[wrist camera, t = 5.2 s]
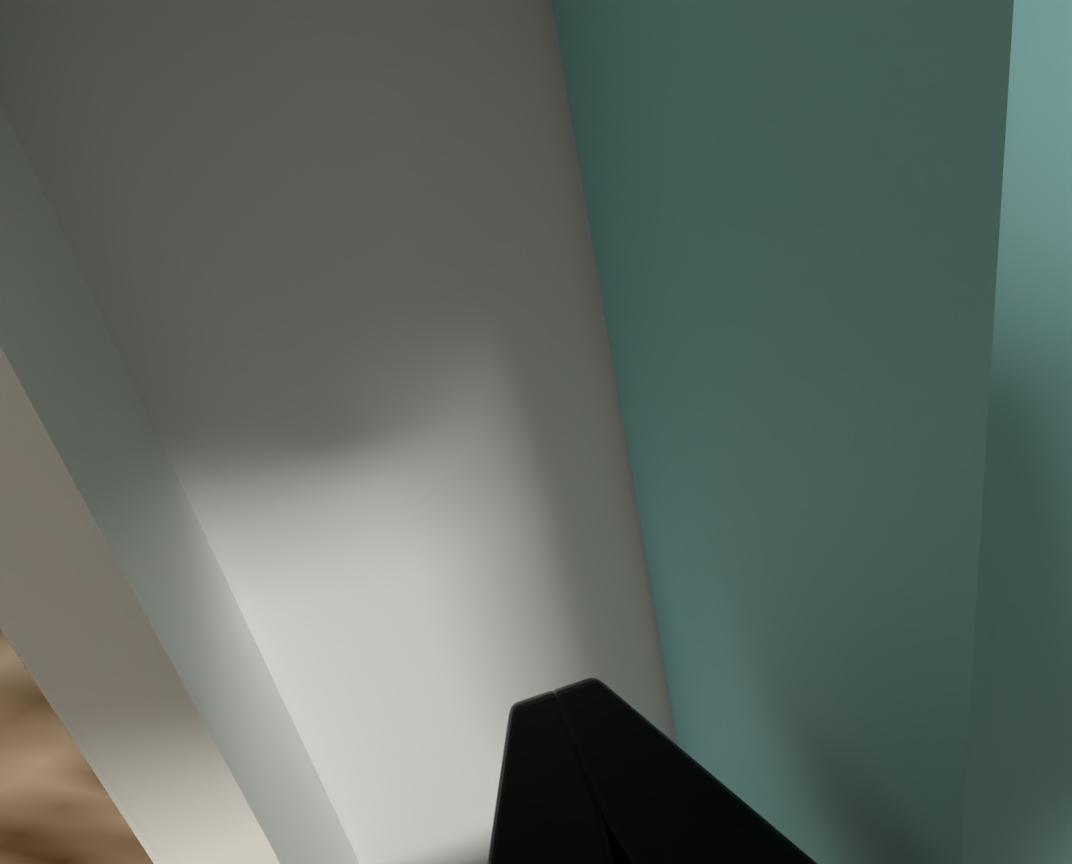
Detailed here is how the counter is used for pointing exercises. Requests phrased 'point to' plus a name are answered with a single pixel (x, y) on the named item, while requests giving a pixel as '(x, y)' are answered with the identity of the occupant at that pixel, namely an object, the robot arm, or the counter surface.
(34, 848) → the counter surface
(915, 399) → the pusher
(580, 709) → the robot arm
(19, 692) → the counter surface
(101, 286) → the lane
